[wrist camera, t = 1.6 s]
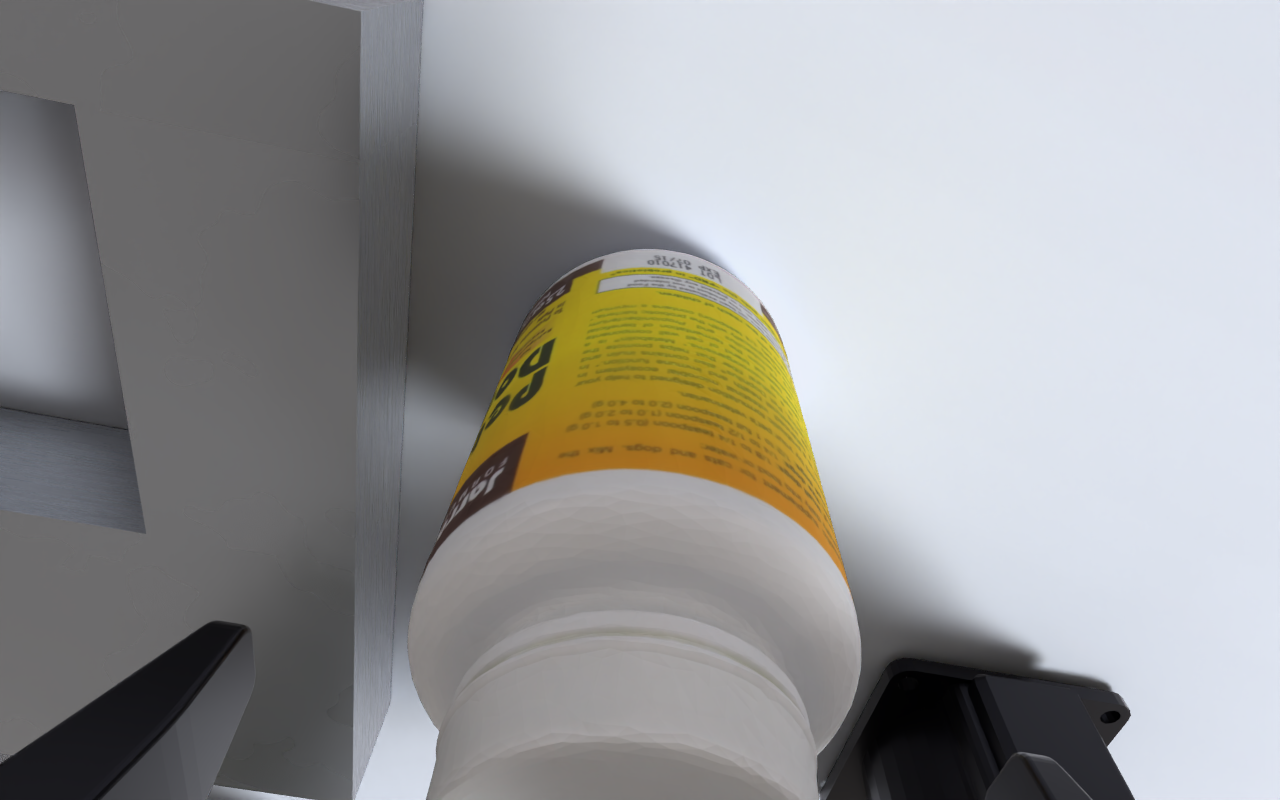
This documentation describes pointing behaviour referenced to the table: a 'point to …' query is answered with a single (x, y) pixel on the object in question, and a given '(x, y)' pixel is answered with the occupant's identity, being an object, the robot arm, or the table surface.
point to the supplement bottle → (637, 558)
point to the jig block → (225, 369)
